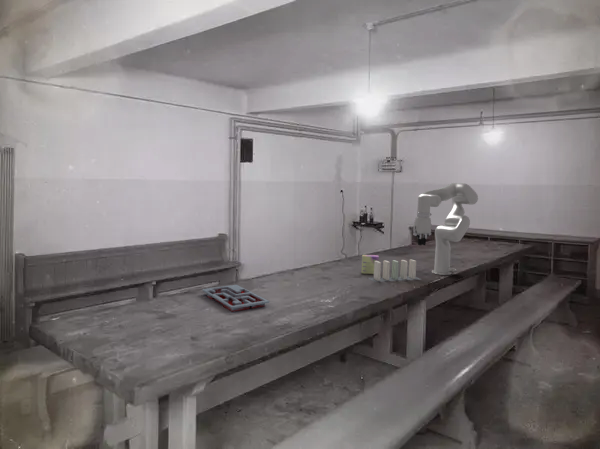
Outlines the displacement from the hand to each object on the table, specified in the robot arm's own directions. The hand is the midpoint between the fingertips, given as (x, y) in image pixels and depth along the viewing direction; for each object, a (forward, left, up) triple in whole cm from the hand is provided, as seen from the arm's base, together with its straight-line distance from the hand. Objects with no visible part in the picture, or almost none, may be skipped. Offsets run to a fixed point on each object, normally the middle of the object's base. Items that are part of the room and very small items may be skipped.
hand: (421, 244), depth 284 cm
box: (+31, 0, -21) cm, 38 cm away
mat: (+14, +10, -21) cm, 27 cm away
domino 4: (+9, +7, -21) cm, 24 cm away
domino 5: (+5, +3, -21) cm, 21 cm away
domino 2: (+19, +14, -21) cm, 31 cm away
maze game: (+85, +87, -22) cm, 123 cm away
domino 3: (+14, +10, -21) cm, 27 cm away
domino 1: (+24, +17, -21) cm, 36 cm away
